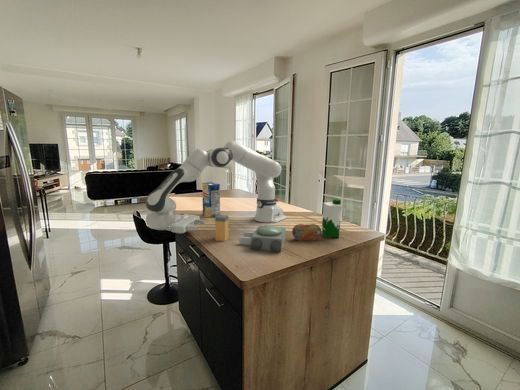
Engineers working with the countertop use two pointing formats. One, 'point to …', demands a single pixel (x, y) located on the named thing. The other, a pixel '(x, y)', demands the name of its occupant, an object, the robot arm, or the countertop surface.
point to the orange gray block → (221, 227)
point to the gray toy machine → (265, 238)
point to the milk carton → (331, 218)
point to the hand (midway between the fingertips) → (200, 225)
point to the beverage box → (211, 199)
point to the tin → (306, 232)
